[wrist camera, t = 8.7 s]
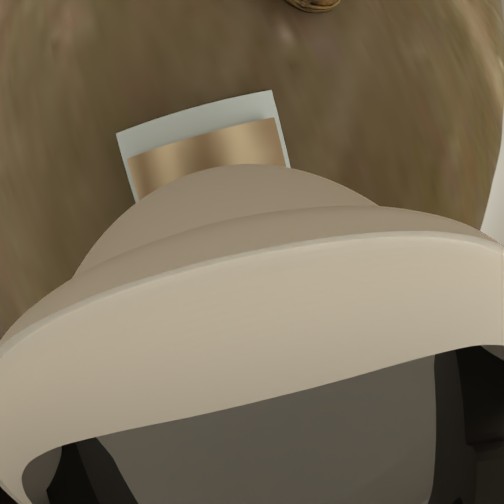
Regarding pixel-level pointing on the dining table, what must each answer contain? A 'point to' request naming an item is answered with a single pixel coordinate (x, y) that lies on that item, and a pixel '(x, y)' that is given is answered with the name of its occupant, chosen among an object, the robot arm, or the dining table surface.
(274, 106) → the board
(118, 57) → the dining table surface
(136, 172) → the tan flat block
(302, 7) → the wooden mug
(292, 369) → the jar
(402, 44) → the dining table surface
